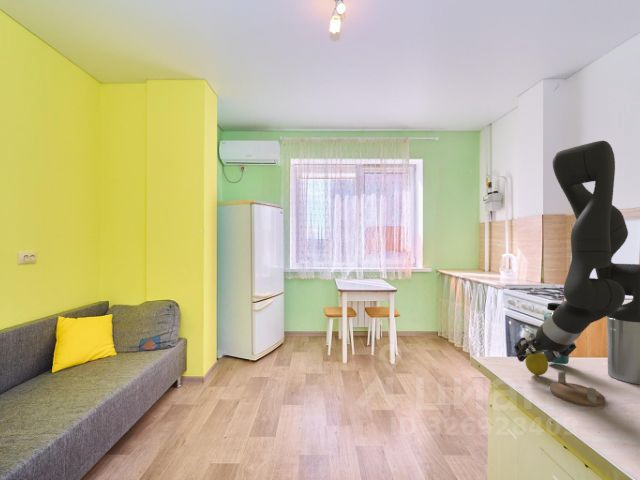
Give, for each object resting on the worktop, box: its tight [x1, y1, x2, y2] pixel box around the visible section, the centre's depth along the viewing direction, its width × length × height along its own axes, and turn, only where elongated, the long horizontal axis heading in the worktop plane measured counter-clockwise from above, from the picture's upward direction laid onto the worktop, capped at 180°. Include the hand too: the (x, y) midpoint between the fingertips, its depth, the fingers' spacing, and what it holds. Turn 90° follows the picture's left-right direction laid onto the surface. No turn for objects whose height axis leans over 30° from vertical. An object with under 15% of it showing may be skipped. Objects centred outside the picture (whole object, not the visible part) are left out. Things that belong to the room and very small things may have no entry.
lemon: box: [524, 349, 549, 377], centre depth 92 cm, size 6×6×8 cm
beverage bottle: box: [543, 302, 570, 365], centre depth 101 cm, size 6×7×20 cm
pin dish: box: [549, 370, 606, 407], centre depth 80 cm, size 11×11×4 cm
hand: (533, 358), depth 94 cm, fingers open, 7 cm apart
